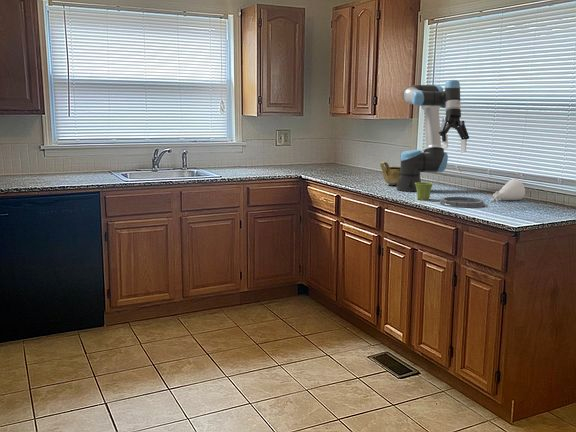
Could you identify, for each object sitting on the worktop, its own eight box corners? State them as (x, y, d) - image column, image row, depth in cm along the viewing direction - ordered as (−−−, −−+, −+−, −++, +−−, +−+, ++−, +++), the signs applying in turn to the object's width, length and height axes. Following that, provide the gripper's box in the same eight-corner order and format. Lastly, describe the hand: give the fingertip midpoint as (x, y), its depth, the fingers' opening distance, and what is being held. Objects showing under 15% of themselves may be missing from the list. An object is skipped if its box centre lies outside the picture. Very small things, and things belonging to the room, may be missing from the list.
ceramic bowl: (388, 187, 357) (389, 163, 354) (373, 184, 372) (374, 160, 369) (418, 186, 366) (419, 162, 363) (402, 182, 381) (403, 159, 378)
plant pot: (410, 199, 313) (411, 183, 311) (418, 197, 320) (419, 181, 318) (427, 201, 307) (428, 184, 305) (435, 199, 314) (435, 183, 313)
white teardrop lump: (492, 184, 304) (516, 174, 312) (480, 195, 314) (503, 186, 322) (505, 202, 300) (529, 192, 308) (493, 213, 310) (516, 203, 318)
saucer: (431, 203, 299) (431, 199, 298) (453, 199, 314) (453, 195, 314) (471, 209, 284) (471, 204, 283) (492, 204, 299) (492, 199, 298)
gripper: (441, 103, 296) (443, 144, 293) (475, 112, 309) (476, 151, 306) (430, 107, 302) (431, 148, 299) (463, 116, 315) (465, 154, 312)
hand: (454, 150), depth 302 cm, fingers open, 13 cm apart
